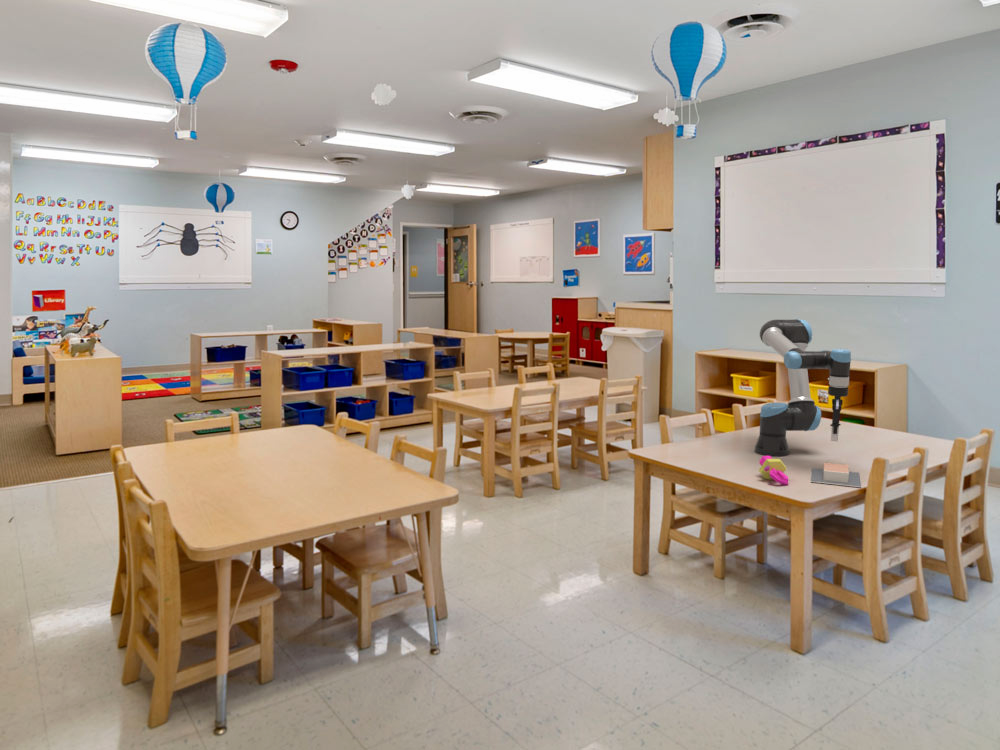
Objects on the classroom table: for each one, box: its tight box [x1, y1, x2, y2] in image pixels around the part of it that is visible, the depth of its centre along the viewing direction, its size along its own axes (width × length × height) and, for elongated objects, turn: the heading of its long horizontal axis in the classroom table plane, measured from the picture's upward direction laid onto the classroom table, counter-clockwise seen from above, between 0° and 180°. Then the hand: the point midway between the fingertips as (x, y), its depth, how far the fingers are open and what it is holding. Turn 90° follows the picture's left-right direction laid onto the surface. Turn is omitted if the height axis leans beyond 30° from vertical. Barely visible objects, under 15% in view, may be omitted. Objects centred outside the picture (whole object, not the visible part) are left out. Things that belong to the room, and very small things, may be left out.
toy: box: [758, 455, 789, 486], centre depth 284 cm, size 10×18×10 cm
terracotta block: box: [823, 462, 850, 483], centre depth 285 cm, size 4×9×14 cm
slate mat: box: [810, 467, 862, 489], centre depth 286 cm, size 22×18×1 cm
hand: (834, 440), depth 297 cm, fingers closed
